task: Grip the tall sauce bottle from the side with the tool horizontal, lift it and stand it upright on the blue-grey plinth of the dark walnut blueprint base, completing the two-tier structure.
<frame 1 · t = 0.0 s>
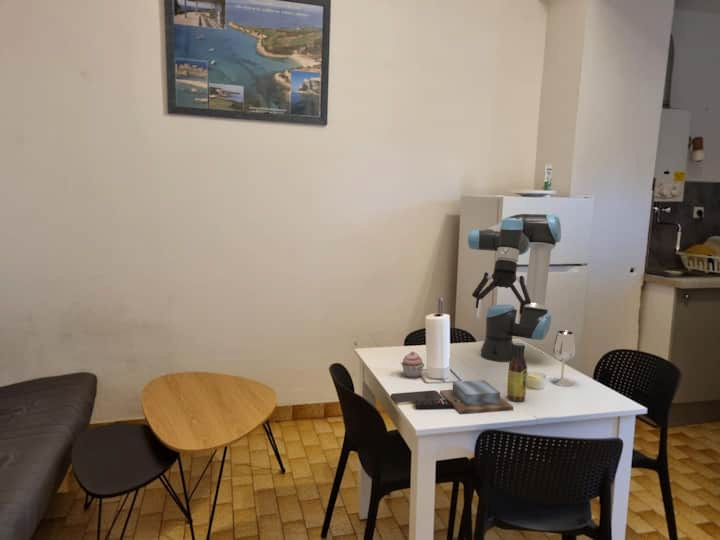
hand: (497, 320, 179), 28 cm above the table, tool tilted 20°, fingers open, 13 cm apart
cupcake: (412, 376, 204), on the table
sauce bottle: (515, 399, 182), on the table
blueprint base: (475, 401, 179), on the table
wineglass: (561, 383, 199), on the table
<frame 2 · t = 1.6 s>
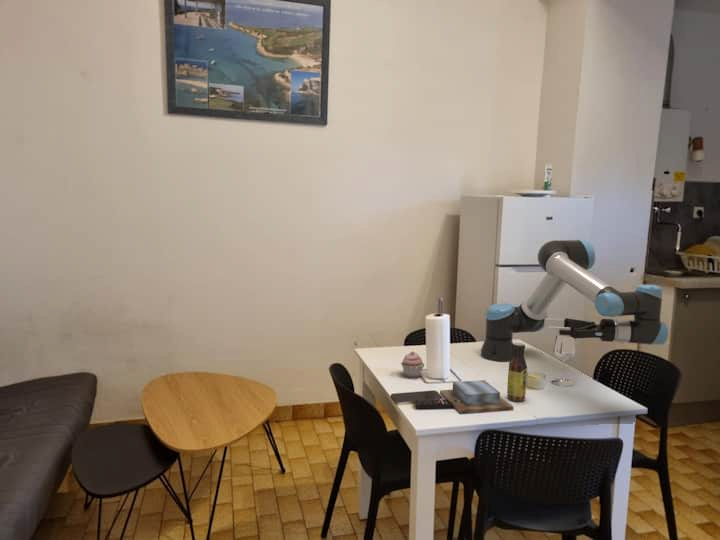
hand: (546, 326, 177), 27 cm above the table, tool horizontal, fingers open, 13 cm apart
nothing on the table moved.
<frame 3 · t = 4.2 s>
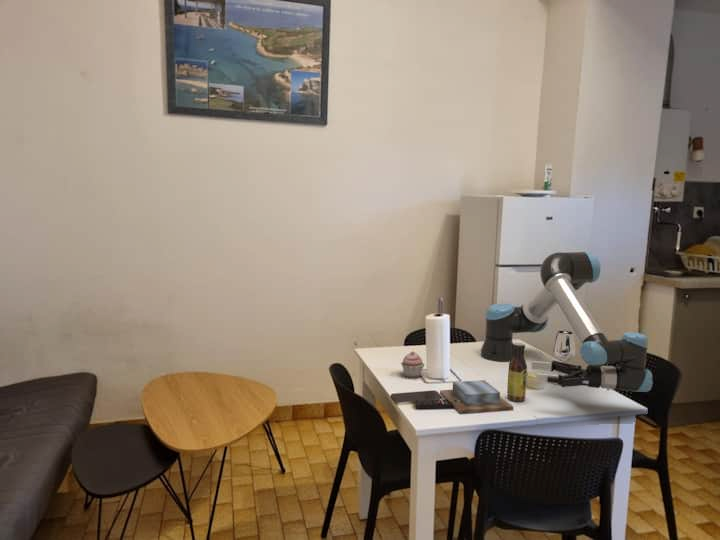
hand: (534, 371, 179), 11 cm above the table, tool horizontal, fingers open, 13 cm apart
nothing on the table moved.
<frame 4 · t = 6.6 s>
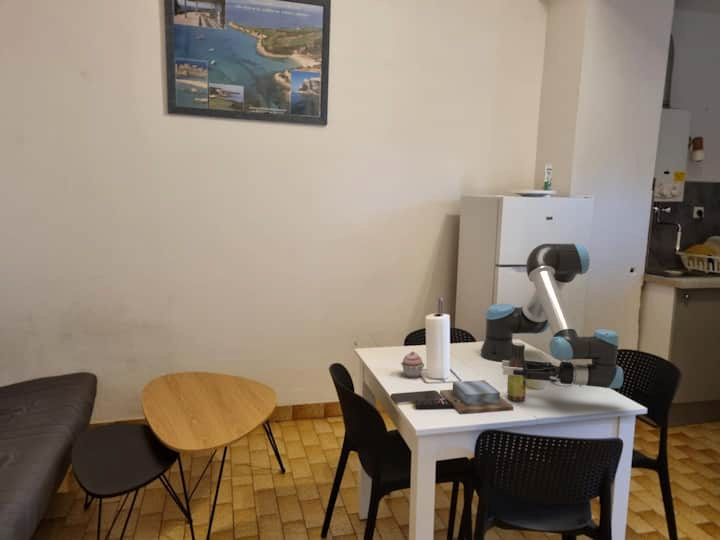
hand: (502, 367, 182), 11 cm above the table, tool horizontal, fingers closed on sauce bottle, 6 cm apart
sauce bottle: (515, 399, 182), on the table, touching gripper
everything else where it was.
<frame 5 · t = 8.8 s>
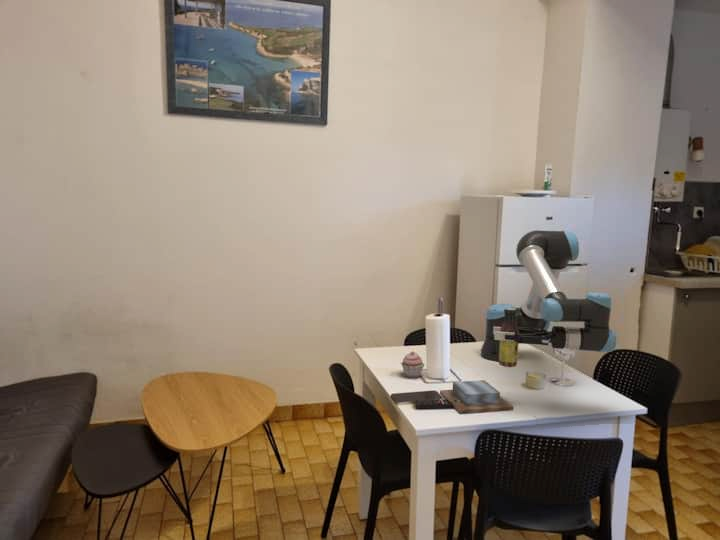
hand: (494, 333, 178), 24 cm above the table, tool horizontal, fingers closed on sauce bottle, 6 cm apart
sauce bottle: (507, 365, 179), point 13 cm above the table, touching gripper
everything else where it was.
when the fingers open (17 cm above the table, at t = 11.3 s): sauce bottle drops 1 cm, resting on blueprint base.
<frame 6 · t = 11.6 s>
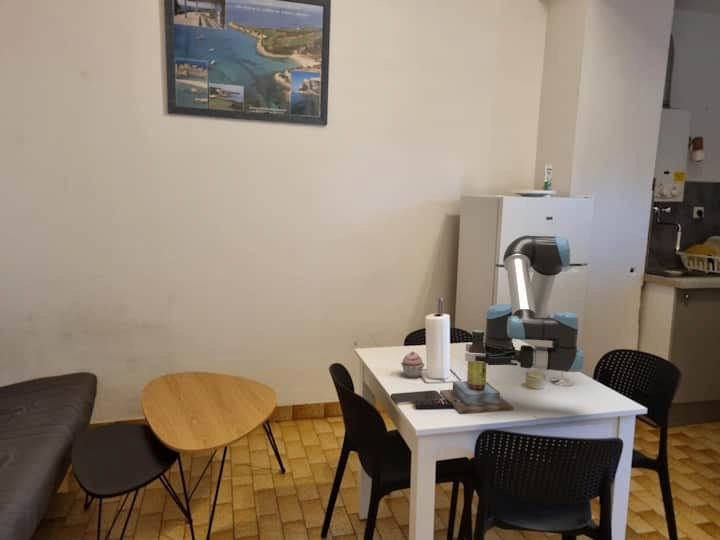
hand: (465, 351, 177), 17 cm above the table, tool horizontal, fingers open, 10 cm apart
sauce bottle: (476, 387, 178), point 5 cm above the table, touching blueprint base
everything else where it was.
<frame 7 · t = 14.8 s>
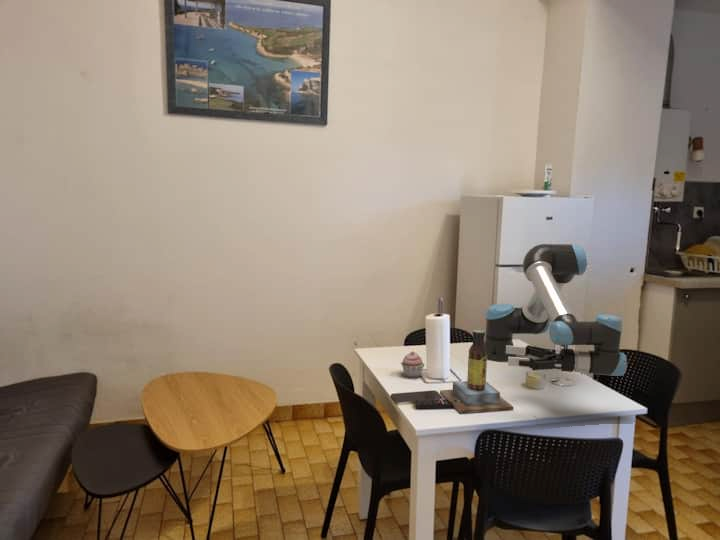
hand: (506, 355, 174), 18 cm above the table, tool horizontal, fingers open, 13 cm apart
nothing on the table moved.
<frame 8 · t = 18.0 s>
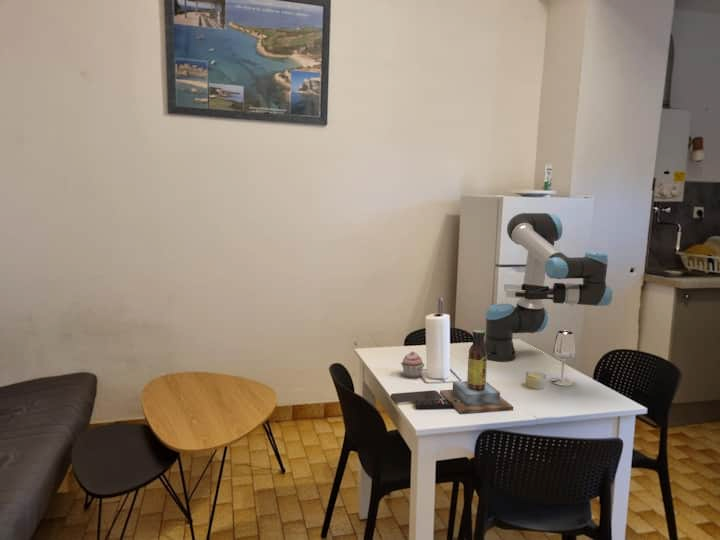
hand: (504, 290, 194), 36 cm above the table, tool horizontal, fingers open, 13 cm apart
nothing on the table moved.
at the end: sauce bottle inside the target area on the blueprint base (0.1 cm from its centre), point 5.0 cm above the blueprint base's base; sauce bottle tilted 0°; the gripper is holding nothing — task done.
